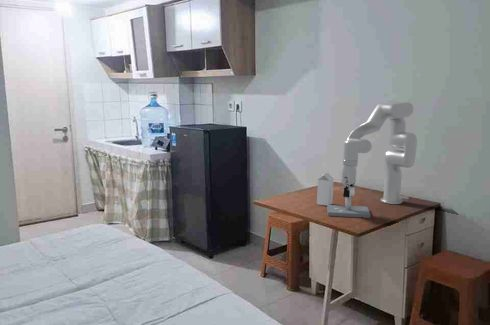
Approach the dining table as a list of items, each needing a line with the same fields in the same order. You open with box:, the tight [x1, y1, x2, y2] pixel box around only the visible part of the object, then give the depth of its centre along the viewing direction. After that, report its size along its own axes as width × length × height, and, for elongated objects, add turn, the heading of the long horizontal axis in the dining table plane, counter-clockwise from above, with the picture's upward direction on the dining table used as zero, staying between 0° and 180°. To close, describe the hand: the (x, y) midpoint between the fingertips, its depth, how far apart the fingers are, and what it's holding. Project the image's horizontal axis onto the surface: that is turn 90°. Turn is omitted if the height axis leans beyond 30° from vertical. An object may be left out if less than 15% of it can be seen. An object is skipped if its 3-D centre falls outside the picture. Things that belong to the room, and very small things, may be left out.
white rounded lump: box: [342, 185, 356, 197], centre depth 232 cm, size 6×6×5 cm
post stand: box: [326, 196, 372, 219], centre depth 233 cm, size 22×15×10 cm
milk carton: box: [316, 171, 334, 207], centre depth 250 cm, size 7×7×19 cm
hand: (348, 195), depth 232 cm, fingers closed on white rounded lump, 6 cm apart
